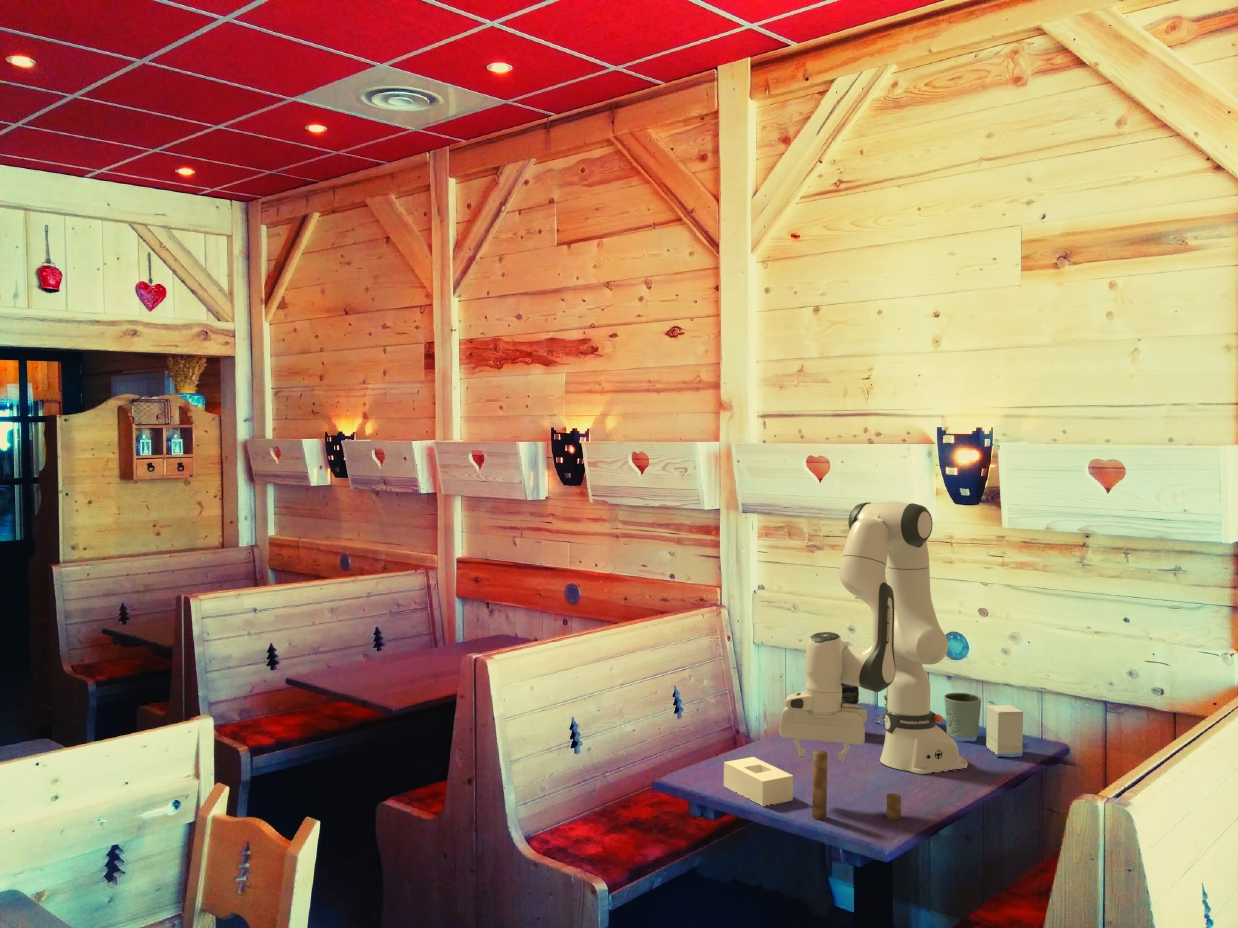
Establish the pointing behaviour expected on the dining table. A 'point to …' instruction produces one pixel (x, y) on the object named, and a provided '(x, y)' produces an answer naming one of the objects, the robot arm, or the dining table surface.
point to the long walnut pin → (819, 785)
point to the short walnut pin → (893, 807)
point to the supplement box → (1004, 729)
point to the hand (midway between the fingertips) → (820, 758)
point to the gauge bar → (758, 781)
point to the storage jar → (850, 694)
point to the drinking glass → (962, 714)
